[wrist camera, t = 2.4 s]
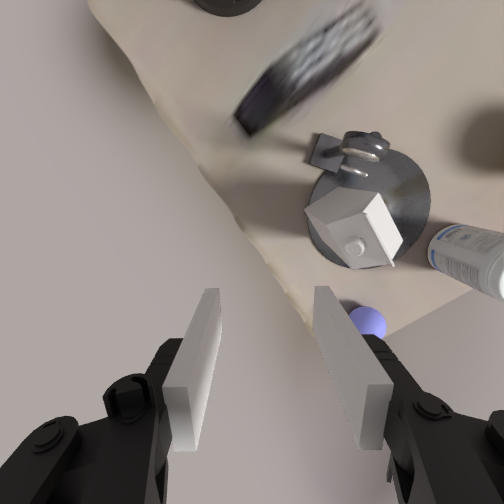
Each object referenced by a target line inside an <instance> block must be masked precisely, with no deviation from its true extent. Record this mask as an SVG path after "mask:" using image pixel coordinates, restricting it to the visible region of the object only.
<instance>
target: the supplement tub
mask: <svg viewBox="0 0 504 504" xmlns="http://www.w3.org/2000/svg"><path fill="white" fill-rule="evenodd" d="M428 259H429V262H430V264H431V265H432V266H433V267H434V268H435V269H436V270H438V271H440V272H442V273H444V274H446V275H448V276H450V277H452V278H454V279H456V280H458V281H460V282H462V283H464V284H466V285H468V286H470V287H472V288H474V289H476V290H478V291H480V292H482V293H485V294H486V295H489V296H491V297H493V298H495V299H497V300H499V301H502V302H504V233H501V232H497V231H492V230H487V229H483V228H478V227H473V226H468V225H462V224H457V225H452V226H448V227H446V228H444V229H442V230H441V231H439V232H438V233H437V234H436V235H435V236H434V237H433V239H432V240H431V242H430V244H429V247H428Z"/></svg>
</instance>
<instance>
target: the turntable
mask: <svg viewBox="0 0 504 504" xmlns="http://www.w3.org/2000/svg"><path fill="white" fill-rule="evenodd" d="M342 164H344V165H347V166H350V167H352V168H355V169H358V170H361V171H363V172H366V173H367V174H368V175H367V177H362V176H359V175H356V174H353V173H351V172H348V171H345V170H342V169H341V168H340V167H339V169H338V172H337V173H334V172H331V171H328V170H327V171H326V172H325V173H324V175H323V176H322V177H321V178H320V180H319V181H318V183H317V185H316V186H315V188H314V190H313V193H312V195H311V198H310V201H309V205H311V204H312V203H314V202H315V201H317V200H319V199H320V198H322V197H323V196H325V195H326V194H328V193H329V192H331V191H332V190H334V189H336V188H337V187H343V188H350V189H357V190H364V191H371V192H379V194H380V195H381V197H382V199H383V201H384V203H385V205H386V207H387V209H388V211H389V213H390V215H391V217H392V219H393V221H394V223H395V225H396V227H397V229H398V231H399V233H400V235H401V237H402V239H403V242H402V244H401V245H400V247H399V249H398V250H397V252H396V254H395V256H394V257H393V259H392V261H393V260H395V259H396V258H398V257H400V256H401V255H402V254H403V253H405V252H406V251H407V250H408V249H409V248H410V247H411V246H412V245H413V244H414V243H415V241H416V240H417V239H418V237H419V236H420V234H421V233H422V231H423V229H424V227H425V225H426V222H427V219H428V216H429V211H430V202H431V199H430V189H429V185H428V182H427V179H426V177H425V175H424V173H423V171H422V170H421V169H420V167H419V166H418V165H417V164H416V163H415V162H414V161H413V160H412V159H411V158H409V157H408V156H406V155H404V154H402V153H400V152H398V151H395V150H391V149H388V151H387V153H386V156H385V158H384V160H383V161H381V162H371V161H365V160H361V159H358V158H354V157H352V156H349V155H347V156H345V157H344V158H343V160H342V162H341V165H342ZM341 165H340V166H341ZM307 218H308V217H307ZM308 227H309V232H310V235H311V237H312V240H313V242H314V243H315V245H316V247H317V248H318V249H319V251H320V252H321V253H322V254H323V255H324V256H325V257H326V258H328V259H329V260H330V261H332V262H334V263H336V264H338V265H340V266H343V267H347V268H350V267H349V266H348V265H347V264H346V263H345V262H344V261H343V260H342V259H341V258H340V257H339V256H338V255H337V254H336V253H335V252H334V251H333V250H332V249H331V248H330V247H329V246H328V245H327V244H326V243H325V242H324V241H323V240H322V239H321V237H320V236H319V234H318V232H317V231H316V229H315V227H314V226H313V224H312V222H311V221H310V219H309V218H308ZM379 266H382V265H379ZM379 266H372V267H366V268H360V269H369V268H375V267H379Z"/></svg>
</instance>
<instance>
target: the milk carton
mask: <svg viewBox="0 0 504 504" xmlns="http://www.w3.org/2000/svg"><path fill="white" fill-rule="evenodd" d="M304 211H305V213H306V214H307V216H308V218H309V219H310V221H311V222H312V224H313V226H314V227H315V229H316V231H317V232H318V234H319V236H320V237H321V239H322V240H323V241H324V242H325V243H326V244H327V245H328V246H329V247H330V248H331V249H332V250H333V251H334V252H335V253H336V254H337V255H338V256H339V257H340V258H341V259H342V260H343V261H344V262H345V263H346V264H347V265H348V266H349V267H350V268H352V269H360V268H366V267H372V266H379V265H385V264H390V265H391V266H393V267H395V265H394V263H393V261H392V259H393V257H394V256H395V254H396V252H397V250H398V249H399V247H400V245H401V244H402V242H403V239H402V237H401V235H400V233H399V231H398V229H397V227H396V225H395V223H394V221H393V219H392V217H391V215H390V213H389V211H388V209H387V207H386V205H385V203H384V201H383V199H382V197H381V195H380V194H379V192H371V191H364V190H357V189H350V188H343V187H337V188H336V189H334V190H332V191H331V192H329V193H328V194H326V195H325V196H323V197H322V198H320V199H319V200H317V201H315V202H314V203H312V204H311V205H309V206H308V207H306V208H305V209H304Z"/></svg>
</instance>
